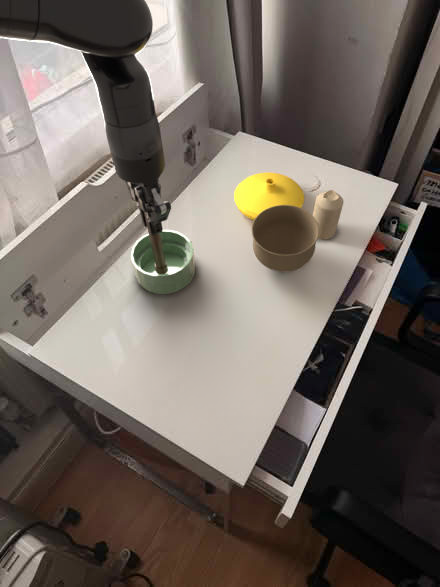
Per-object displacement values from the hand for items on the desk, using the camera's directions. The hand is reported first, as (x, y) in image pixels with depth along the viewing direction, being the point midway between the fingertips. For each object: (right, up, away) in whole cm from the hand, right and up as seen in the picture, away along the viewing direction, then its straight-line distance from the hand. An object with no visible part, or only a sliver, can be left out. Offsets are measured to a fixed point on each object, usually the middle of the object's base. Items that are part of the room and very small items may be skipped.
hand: (153, 228), depth 76 cm
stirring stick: (0, -7, +9) cm, 12 cm away
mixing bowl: (+1, -7, +12) cm, 14 cm away
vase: (+23, +9, +24) cm, 34 cm away
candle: (+34, +2, +19) cm, 39 cm away
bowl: (+24, -5, +14) cm, 28 cm away
